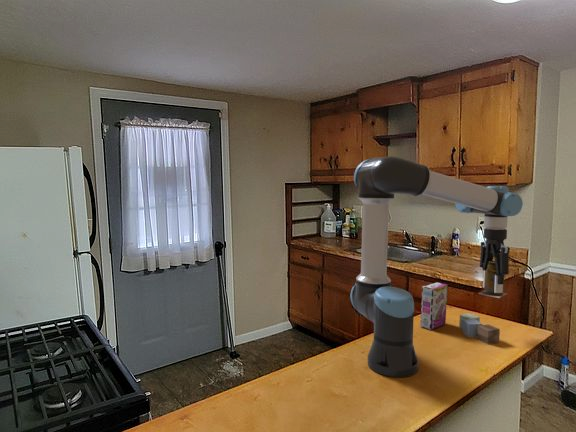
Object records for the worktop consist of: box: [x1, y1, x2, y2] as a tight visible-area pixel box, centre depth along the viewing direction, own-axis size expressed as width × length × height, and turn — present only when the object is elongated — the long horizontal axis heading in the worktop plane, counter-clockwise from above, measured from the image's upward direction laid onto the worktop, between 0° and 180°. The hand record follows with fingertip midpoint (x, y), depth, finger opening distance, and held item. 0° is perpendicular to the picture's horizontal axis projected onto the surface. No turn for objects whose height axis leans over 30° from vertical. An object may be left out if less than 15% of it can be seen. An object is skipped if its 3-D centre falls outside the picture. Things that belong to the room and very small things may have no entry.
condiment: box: [478, 260, 508, 299], centre depth 143 cm, size 7×8×12 cm
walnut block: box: [476, 323, 501, 345], centre depth 139 cm, size 5×5×5 cm
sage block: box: [458, 312, 481, 329], centre depth 151 cm, size 5×5×5 cm
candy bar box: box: [419, 282, 448, 331], centre depth 153 cm, size 11×5×16 cm, turn 130°
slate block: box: [461, 319, 483, 338], centre depth 144 cm, size 5×5×5 cm
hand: (492, 289), depth 144 cm, fingers closed on condiment, 6 cm apart
